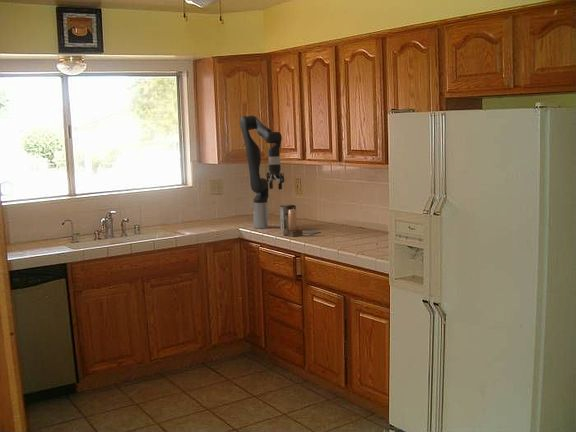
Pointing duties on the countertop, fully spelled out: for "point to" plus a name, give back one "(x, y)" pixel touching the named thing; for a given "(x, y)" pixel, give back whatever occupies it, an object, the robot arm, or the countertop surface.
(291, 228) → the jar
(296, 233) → the collar
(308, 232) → the mat
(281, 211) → the coffee box
